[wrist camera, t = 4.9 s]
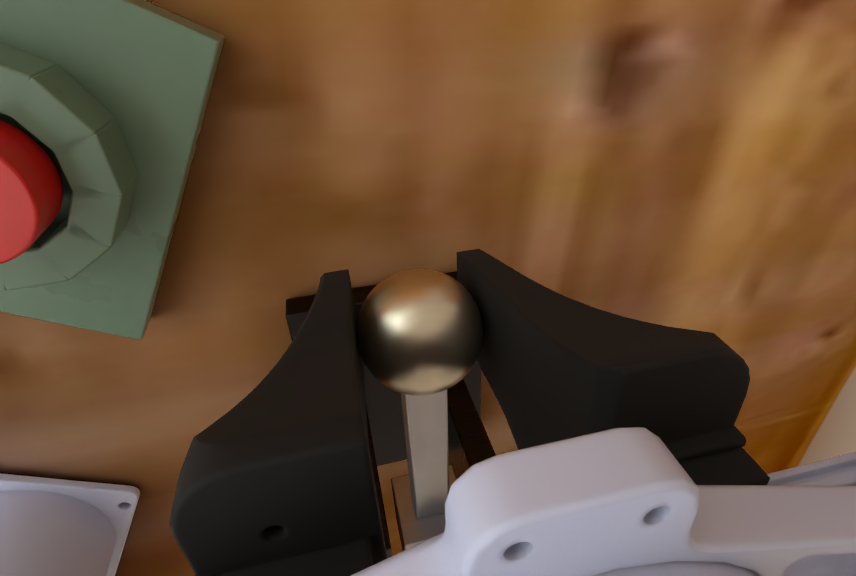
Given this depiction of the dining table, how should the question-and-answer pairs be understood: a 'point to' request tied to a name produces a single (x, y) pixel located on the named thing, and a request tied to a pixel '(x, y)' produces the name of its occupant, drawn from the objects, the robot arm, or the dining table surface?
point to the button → (25, 192)
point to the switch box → (103, 150)
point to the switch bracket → (387, 414)
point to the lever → (421, 381)
